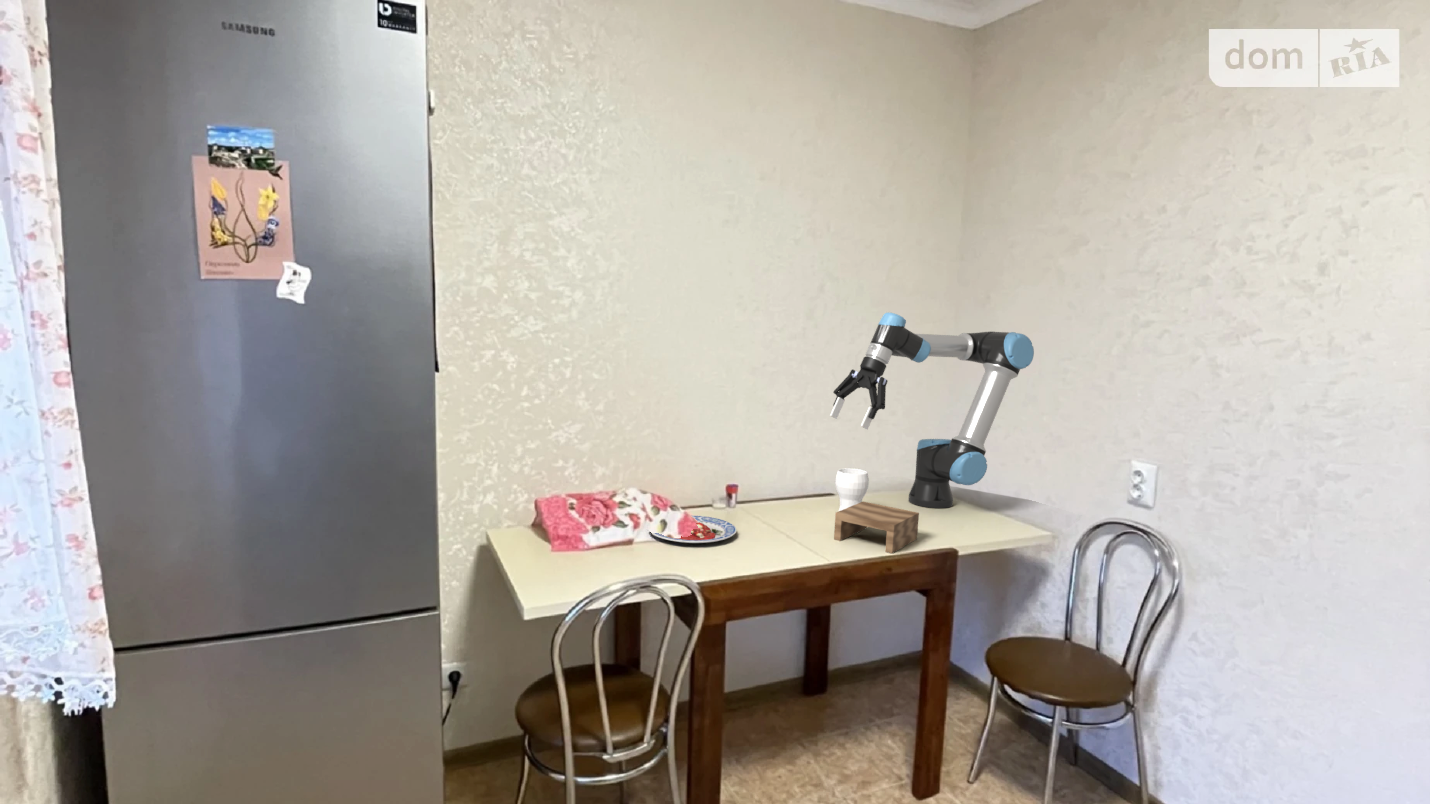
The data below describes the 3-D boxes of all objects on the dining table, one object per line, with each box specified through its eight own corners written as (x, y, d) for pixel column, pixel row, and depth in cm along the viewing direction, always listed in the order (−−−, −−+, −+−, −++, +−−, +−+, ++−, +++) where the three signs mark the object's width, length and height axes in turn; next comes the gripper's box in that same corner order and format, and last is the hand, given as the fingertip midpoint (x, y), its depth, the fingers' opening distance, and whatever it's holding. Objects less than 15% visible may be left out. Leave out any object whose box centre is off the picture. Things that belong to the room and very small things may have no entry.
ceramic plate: (634, 543, 202) (635, 532, 201) (663, 518, 227) (663, 509, 226) (725, 553, 196) (725, 543, 196) (744, 527, 221) (744, 517, 220)
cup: (864, 513, 242) (867, 468, 240) (868, 521, 231) (871, 475, 229) (832, 511, 243) (834, 466, 241) (834, 519, 232) (837, 473, 230)
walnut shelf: (861, 526, 226) (863, 501, 225) (917, 539, 215) (919, 512, 214) (833, 539, 211) (835, 512, 210) (892, 553, 201) (894, 525, 200)
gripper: (840, 349, 234) (813, 409, 234) (899, 362, 214) (870, 428, 214) (854, 358, 239) (828, 417, 238) (913, 372, 219) (885, 436, 218)
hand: (848, 422), depth 226 cm, fingers open, 13 cm apart
